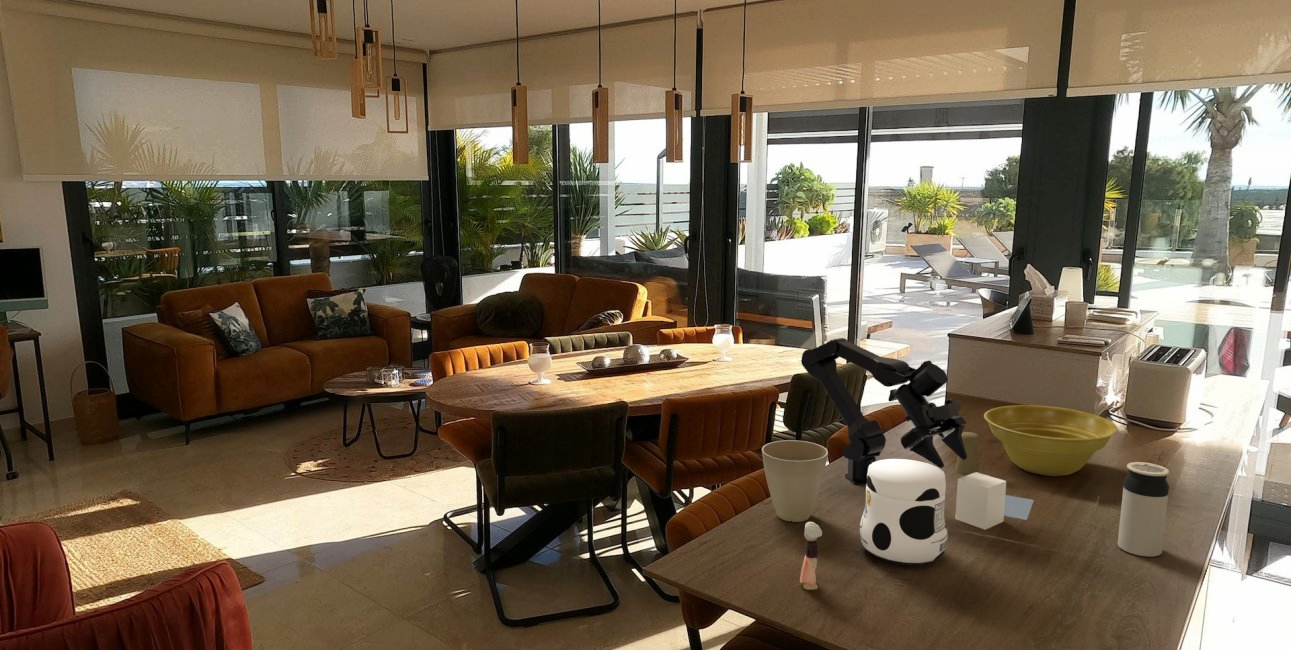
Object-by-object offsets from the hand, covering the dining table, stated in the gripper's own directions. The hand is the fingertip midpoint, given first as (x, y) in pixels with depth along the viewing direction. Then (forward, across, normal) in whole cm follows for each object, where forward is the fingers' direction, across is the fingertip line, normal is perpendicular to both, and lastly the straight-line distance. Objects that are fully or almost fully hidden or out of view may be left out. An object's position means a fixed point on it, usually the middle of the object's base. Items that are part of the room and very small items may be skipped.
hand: (954, 463), depth 190 cm
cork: (0, +27, +18) cm, 32 cm away
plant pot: (-6, -32, +23) cm, 40 cm away
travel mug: (+34, +14, -17) cm, 40 cm away
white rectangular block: (+14, 0, +3) cm, 14 cm away
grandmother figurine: (+12, -54, +5) cm, 55 cm away
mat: (+12, +12, +5) cm, 18 cm away
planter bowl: (+7, +48, +10) cm, 49 cm away
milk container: (+13, -28, +4) cm, 31 cm away
